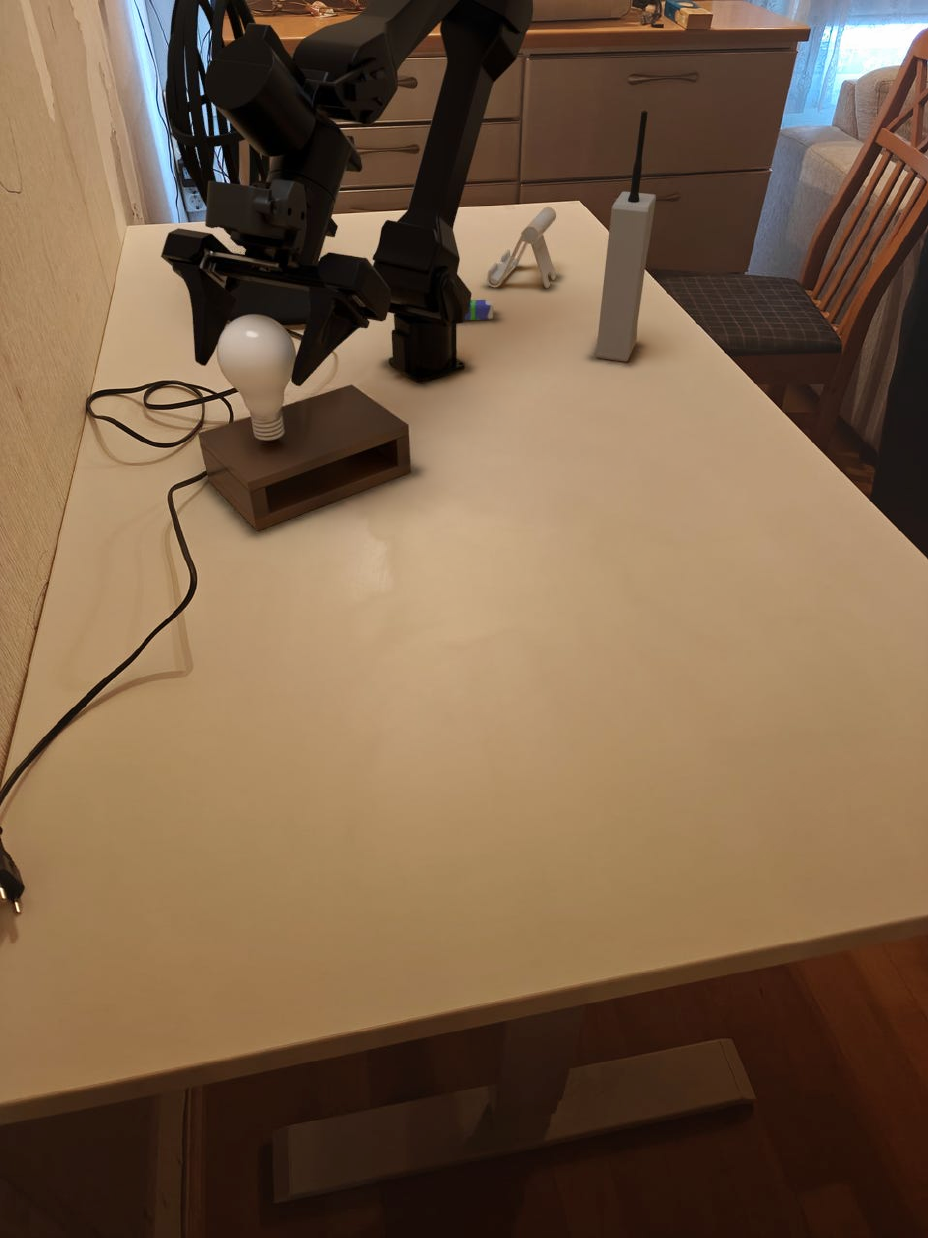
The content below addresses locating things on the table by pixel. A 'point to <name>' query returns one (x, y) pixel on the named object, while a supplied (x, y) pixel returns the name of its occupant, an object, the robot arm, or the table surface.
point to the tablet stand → (529, 236)
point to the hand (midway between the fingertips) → (246, 373)
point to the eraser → (480, 310)
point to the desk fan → (219, 139)
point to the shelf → (307, 456)
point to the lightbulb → (258, 369)
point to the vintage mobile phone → (625, 265)
